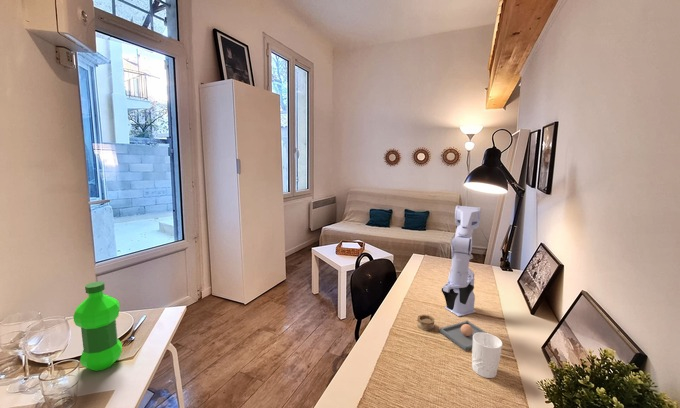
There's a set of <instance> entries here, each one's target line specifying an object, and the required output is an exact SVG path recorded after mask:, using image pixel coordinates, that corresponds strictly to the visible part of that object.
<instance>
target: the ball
mask: <svg viewBox="0 0 680 408" xmlns="http://www.w3.org/2000/svg"><path fill="white" fill-rule="evenodd" d="M461 332H462V334H463V335H465V336H470V335H472V333H473V329H472V327H471V326H470V325H468V324H464V325H462V326H461Z"/></svg>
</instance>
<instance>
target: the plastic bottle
mask: <svg viewBox="0 0 680 408" xmlns="http://www.w3.org/2000/svg"><path fill="white" fill-rule="evenodd" d="M105 285H106V284H105V282H104V281H102V280H101V281H94V282H90V283H88V284H86V285H85V289H84V290H85V293H86V294H87V295H88V297H86V299H84V300H83V301H82V302H81V303H80V304H79V305H77V307H76V309H75V311H74V314H73V323H74V324H75V326H77V327H79V328H80V330H81V331H80V332H81V339H82V347H83V350H82V352H81V355H80V358H79V362H80V365H82V366H83V367H84V368H86V369H88V370H91V371H95V372H96V371H97V372H99V371H104V370H106V369H108V368H110V367H111V366H112V365H114V363H115V362H116V361H117V360H118V359H120V357H121V355H122V352H123V351H122V350H123V343H122V342H121V340H120V339H119V338H118V330H117V328H118V327H117V319H118V318H119V314H120V308H121V307H120V306H121V305H120V304H121V303H120V302H119V300H118V299H116V298H115V297H112V296H109V295H108V294H104V290H105V289H106V287H105Z"/></svg>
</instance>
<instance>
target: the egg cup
mask: <svg viewBox="0 0 680 408" xmlns="http://www.w3.org/2000/svg"><path fill="white" fill-rule="evenodd" d="M416 321H417V328H418V329H420V330H422V331H425V332H426V331H427V332H429V331H432V330H433V331H434V328H435V318H434V317H433V316H431V315H429V314H420V315H417V320H416Z"/></svg>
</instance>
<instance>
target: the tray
mask: <svg viewBox="0 0 680 408" xmlns="http://www.w3.org/2000/svg"><path fill="white" fill-rule="evenodd" d="M464 324H468V325H470V326H471V327H472V329H473V333H472V335H470V336H465V335H463V334H462V332H461V326H462V325H464ZM478 332H484V333H488V332H487V331H485V330H483V329H482V328H481V327H478V326H476V325H475V324H474V323H472V322H470V321H469V320H465V321H461V322H457V323H455V324H450V325H447V326H444V327H439V329H438V333H440V334H441V335H443V336H444V337H445V338H447V339H448V340H449V341H451V342H452V343H453V344H455V345H456V346H457V347H459V348H460V349H462V350H463V351H465V352H467V351H470V350H472V343H473V335H474V334H475V333H478Z"/></svg>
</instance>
